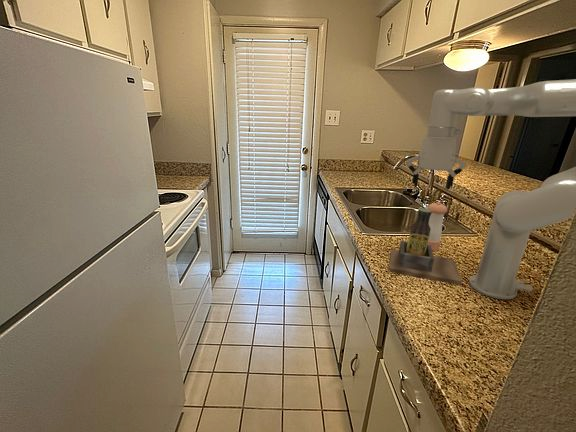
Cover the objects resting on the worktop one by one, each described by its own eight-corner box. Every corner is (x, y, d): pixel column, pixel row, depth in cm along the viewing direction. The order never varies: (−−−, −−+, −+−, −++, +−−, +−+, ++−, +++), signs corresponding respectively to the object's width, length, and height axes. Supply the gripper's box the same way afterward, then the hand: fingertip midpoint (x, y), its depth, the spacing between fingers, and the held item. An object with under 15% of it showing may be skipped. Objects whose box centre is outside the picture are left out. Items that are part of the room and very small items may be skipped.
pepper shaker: (429, 251, 116) (438, 205, 110) (416, 243, 123) (424, 200, 116) (443, 249, 118) (453, 204, 112) (429, 241, 125) (438, 199, 118)
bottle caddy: (452, 262, 108) (456, 246, 105) (460, 285, 93) (465, 267, 91) (390, 252, 115) (393, 237, 112) (389, 271, 100) (391, 255, 98)
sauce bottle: (403, 264, 103) (413, 211, 96) (404, 256, 108) (413, 205, 101) (424, 267, 101) (435, 213, 94) (423, 259, 106) (433, 208, 99)
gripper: (469, 133, 90) (458, 186, 96) (410, 131, 96) (402, 182, 101) (475, 134, 84) (463, 192, 89) (411, 132, 89) (403, 187, 95)
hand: (431, 187), depth 95 cm, fingers open, 9 cm apart
